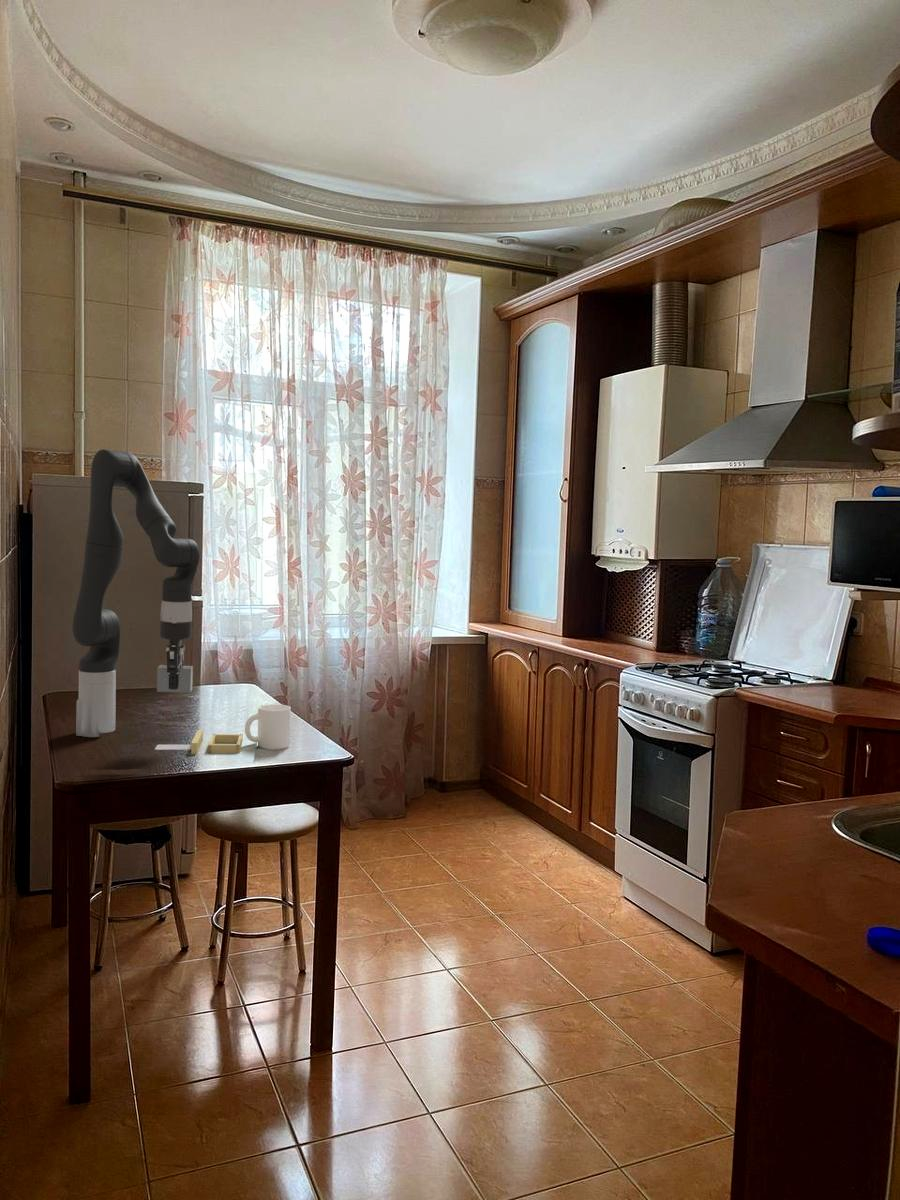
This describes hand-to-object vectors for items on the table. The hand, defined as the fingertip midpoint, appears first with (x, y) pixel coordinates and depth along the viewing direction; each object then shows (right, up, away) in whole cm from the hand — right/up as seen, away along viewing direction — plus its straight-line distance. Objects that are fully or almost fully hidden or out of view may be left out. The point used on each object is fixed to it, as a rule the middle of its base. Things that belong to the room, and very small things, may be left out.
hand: (174, 687), depth 233 cm
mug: (+21, -17, +9) cm, 28 cm away
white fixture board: (+6, -16, +2) cm, 18 cm away
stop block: (0, -1, 0) cm, 1 cm away
